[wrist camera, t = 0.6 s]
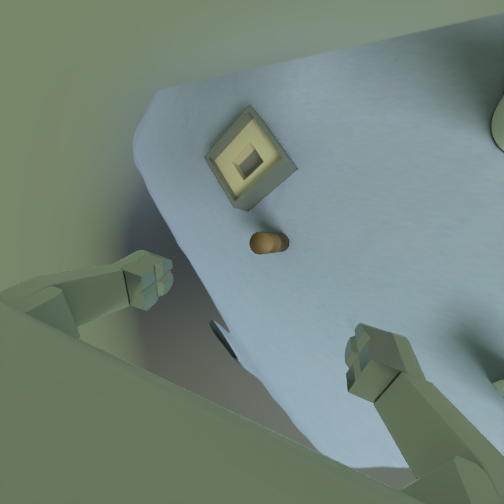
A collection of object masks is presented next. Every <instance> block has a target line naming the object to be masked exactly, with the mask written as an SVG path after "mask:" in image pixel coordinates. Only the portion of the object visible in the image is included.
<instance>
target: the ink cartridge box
mask: <svg viewBox="0 0 504 504" xmlns="http://www.w3.org/2000/svg"><path fill="white" fill-rule="evenodd" d="M492 384H493V386H494V387H495V388H496V389H497V390H498V391H499V392H500V393H501V394H502V396H503V397H504V379H502V380H499V381H497V382H494V383H492Z"/></svg>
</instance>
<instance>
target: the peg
mask: <svg viewBox="0 0 504 504" xmlns="http://www.w3.org/2000/svg"><path fill="white" fill-rule="evenodd" d="M288 246H289V239H288V237H287V236H286V235H284V234H278V233H266V232H257V233H255V234H253V235H252V237H251V239H250V248H251V250H252V251H253V252H254V253H256V254H267V253H275V252H282V251H285V250H286V249H287V248H288Z"/></svg>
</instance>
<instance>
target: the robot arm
mask: <svg viewBox="0 0 504 504" xmlns="http://www.w3.org/2000/svg"><path fill="white" fill-rule="evenodd" d="M492 134H493V137H494V139H495V141H496V143H497V144H498V146H499V147H500V148H501V149H502V150H503V151H504V95H503V97H502V99H501V101H500V102H499V104H498V106H497V108H496V110H495V112H494V115H493V119H492ZM171 269H172V261H171V260H169V259H167V258H164V257H161V256H158V255H156V254H153V253H150V252H147V251H144V250H138V251H136V252H134V253H132V254H131V255H129V256H127V257H125V258H123V259H121V260H119V261H117V262H116V263H113V264H112V265H110V266H109V265H101V266H96V267H89V268H84V269H78V270H72V271H66V272H60V273H55V274H49V275H43V276H37V277H33V278H31V279H29V280H26V281H24V282H22V283H19V284H17V285H15V286H13V287H10V288H8V289H6V290H3V291H1V292H0V504H504V456H503V455H502V454H501V453H500V452H499V451H498V450H497V449H496V448H495V447H494V446H493V445H492V444H491V443H490V442H489V441H488V440H487V439H486V438H485V437H484V436H483V435H482V434H481V433H480V432H479V431H478V430H477V429H476V428H475V427H474V426H473V424H472V423H471V422H470V421H469V420H468V419H467V418H466V417H465V416H464V415H463V414H462V413H461V412H460V411H459V410H458V409H457V408H456V407H455V406H454V405H453V404H452V403H451V402H450V401H449V400H448V399H447V398H446V397H445V396H444V395H443V394H442V393H441V392H440V391H439V390H438V389H437V388H436V387H435V386H434V385H433V384H432V383H431V382H428V381H426V379H425V377H424V374H423V372H422V370H421V367H420V365H419V363H418V361H417V358H416V356H415V354H414V352H413V349H412V347H411V345H410V342H409V340H408V339H407V338H406V337H404V336H401V335H398V334H395V333H391V332H387V331H384V330H381V329H378V328H375V327H372V326H369V325H365V324H362V323H359V324H358V325H357V327H356V328H355V336H353V337H350V339H349V341H348V343H347V345H346V349H345V363H346V364H347V366H348V367H349V370H348V372H347V373H346V377H347V388H348V392H349V393H351V394H354V395H356V396H358V397H361V398H363V399H365V400H368V401H370V402H372V403H374V406H375V408H376V410H377V411H378V413H379V415H380V416H381V418H382V420H383V422H384V423H385V425H386V427H387V429H388V430H389V432H390V434H391V436H392V437H393V439H394V441H395V443H396V444H397V446H398V448H399V450H400V451H401V453H402V455H403V457H404V458H405V460H406V462H407V464H408V465H409V467H410V469H411V470H412V472H413V474H414V476H415V478H416V479H417V480H415V481H414V482H412V483H411V484H409V485H407V486H405V487H404V488H403V489H402V490H401V491H399V490H397V489H395V488H392V487H390V486H388V485H386V484H384V483H382V482H379V481H378V480H375V479H373V478H371V477H369V476H367V475H365V474H363V473H361V472H359V471H357V470H354V469H352V468H350V467H348V466H346V465H344V464H342V463H340V462H338V461H335V460H333V459H331V458H329V457H327V456H325V455H323V454H321V453H319V452H316V451H314V450H312V449H310V448H308V447H306V446H304V445H302V444H300V443H298V442H295V441H293V440H291V439H289V438H287V437H285V436H283V435H281V434H278V433H277V432H274V431H272V430H270V429H268V428H266V427H264V426H262V425H260V424H258V423H255V422H253V421H251V420H249V419H247V418H245V417H243V416H241V415H239V414H236V413H234V412H232V411H230V410H228V409H226V408H224V407H222V406H219V405H217V404H216V403H213V402H211V401H209V400H207V399H205V398H203V397H201V396H199V395H197V394H194V393H192V392H190V391H188V390H186V389H184V388H182V387H180V386H178V385H175V384H173V383H171V382H169V381H167V380H165V379H163V378H160V377H159V376H156V375H154V374H152V373H150V372H148V371H146V370H144V369H142V368H140V367H137V366H135V365H133V364H131V363H129V362H127V361H125V360H122V359H120V358H118V357H116V356H114V355H112V354H110V353H108V352H106V351H104V350H102V349H99V348H97V347H95V346H93V345H91V344H89V343H87V342H85V341H82V340H80V339H79V338H80V333H79V331H78V328H77V327H78V326H80V325H83V324H85V323H88V322H90V321H93V320H95V319H98V318H100V317H103V316H105V315H108V314H110V313H112V312H115V311H117V310H120V309H122V308H125V307H127V306H129V305H132V306H135V307H137V308H140V309H143V310H145V311H147V310H148V309H149V308H150V307H151V306H152V305H153V304H155V303H156V302H157V299H158V297H159V296H162V295H165V294H166V293H167V292H168V291H169V289H170V288H171V286H172V282H173V275H172V274H171V272H170V270H171Z"/></svg>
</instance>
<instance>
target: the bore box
mask: <svg viewBox="0 0 504 504" xmlns="http://www.w3.org/2000/svg"><path fill="white" fill-rule="evenodd" d="M204 158H205V160H206V162H207V163H208V165H209V167H210V168H211V170H212V172H213V173H214V175H215V177H216V179H217V180H218V182H219V184H220V185H221V187H222V189H223V190H224V192H225V194H226V195H227V197H228V199H229V200H230V202H231V204H232V205H233V207H234V208H237V209H241V210H245V211H249V210H250V209H252V208H253V207H254V206H255V205H256V204H257V203H259V202H260V201H261V200H262V199H263V198H264V197H266V196H267V195H268V194H269V193H270V192H271V191H273V190H274V189H275V188H276V187H277V186H279V185H280V184H281V183H282V182H283V181H284V180H286V179H287V178H288V177H289V176H290V175H291V174H293V173H294V172H295V171H296V170H297V169H298V168H297V167H296V166H295V164H294V163H293V161H292V160H291V159H290V157H289V156H288V154H287V153H286V152H285V150H284V149H283V147H282V146H281V145H280V143H279V142H278V140H277V139H276V138H275V136H274V135H273V133H272V132H271V131H270V129H269V128H268V126H267V125H266V124H265V122H264V121H263V120H262V118H261V117H260V116H259V115H258V113H257V112H256V111H255V110H254V108H253V107H252V106H251V105H249V106H248V107H247V108H246V109H245V110H244V112H243V113H242V114H241V115H240V116H239V117H238V119H237V120H236V121H235V122H234V123H233V124H232V125H231V127H230V128H229V129H228V130H227V131H226V132H225V133H224V135H223V136H222V137H221V138H220V139H219V140H218V141H217V143H216V144H215V145H214V146H213V147H212V148H211V150H210V151H209V152H208V153H207V154H206V155H205V156H204Z"/></svg>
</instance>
